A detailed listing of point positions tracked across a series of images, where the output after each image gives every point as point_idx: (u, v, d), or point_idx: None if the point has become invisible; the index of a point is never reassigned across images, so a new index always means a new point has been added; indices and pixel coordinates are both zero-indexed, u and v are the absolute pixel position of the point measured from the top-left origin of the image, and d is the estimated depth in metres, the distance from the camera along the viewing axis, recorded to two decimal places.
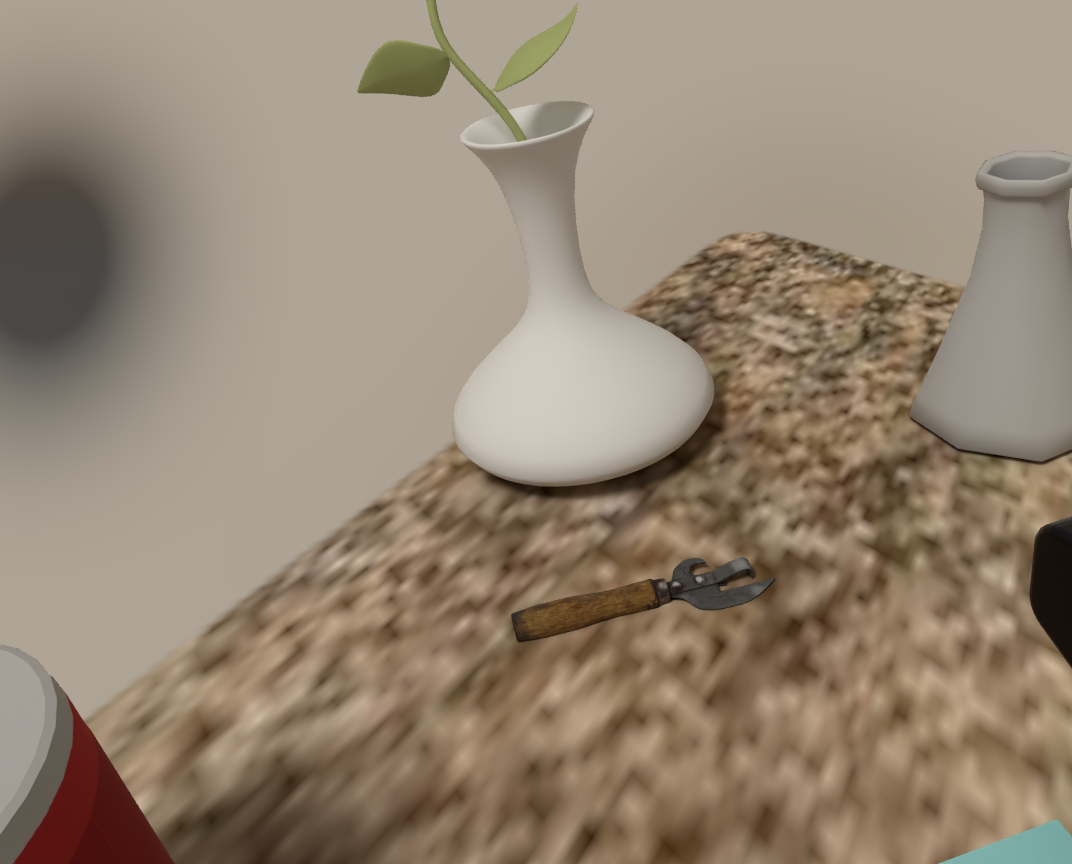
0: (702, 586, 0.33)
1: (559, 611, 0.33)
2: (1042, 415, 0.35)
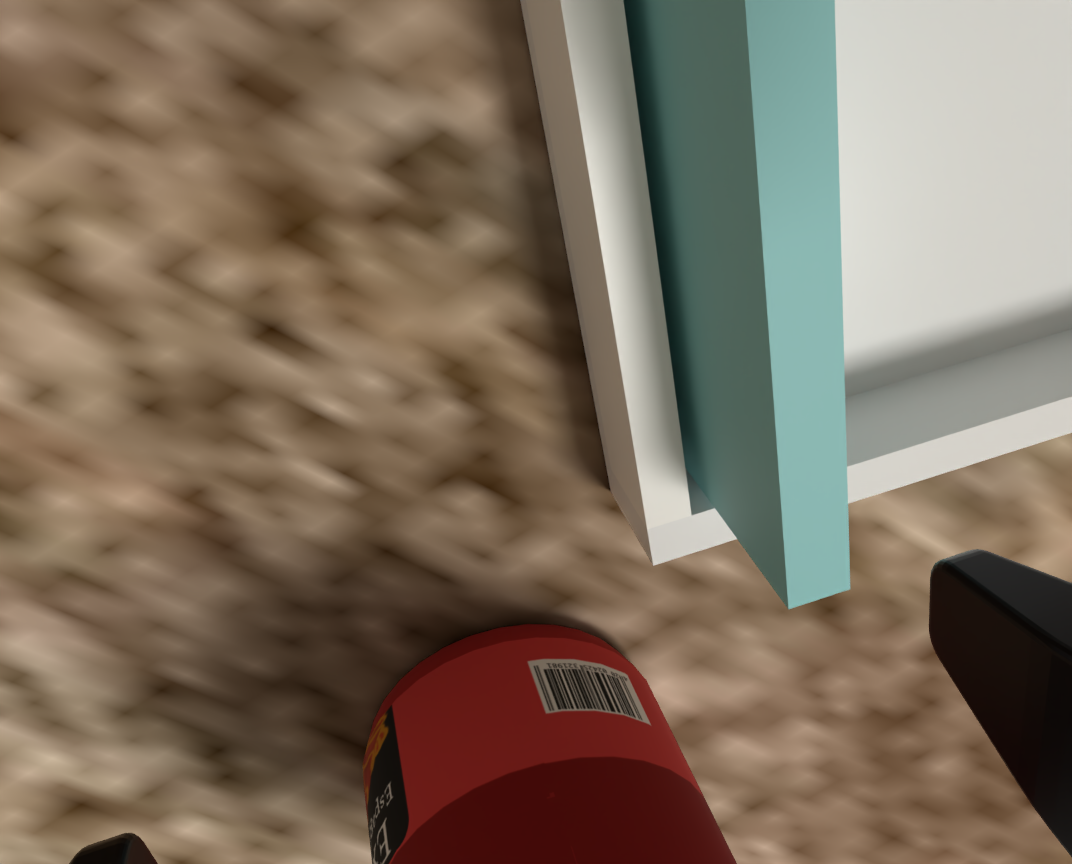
0: None
1: None
2: None
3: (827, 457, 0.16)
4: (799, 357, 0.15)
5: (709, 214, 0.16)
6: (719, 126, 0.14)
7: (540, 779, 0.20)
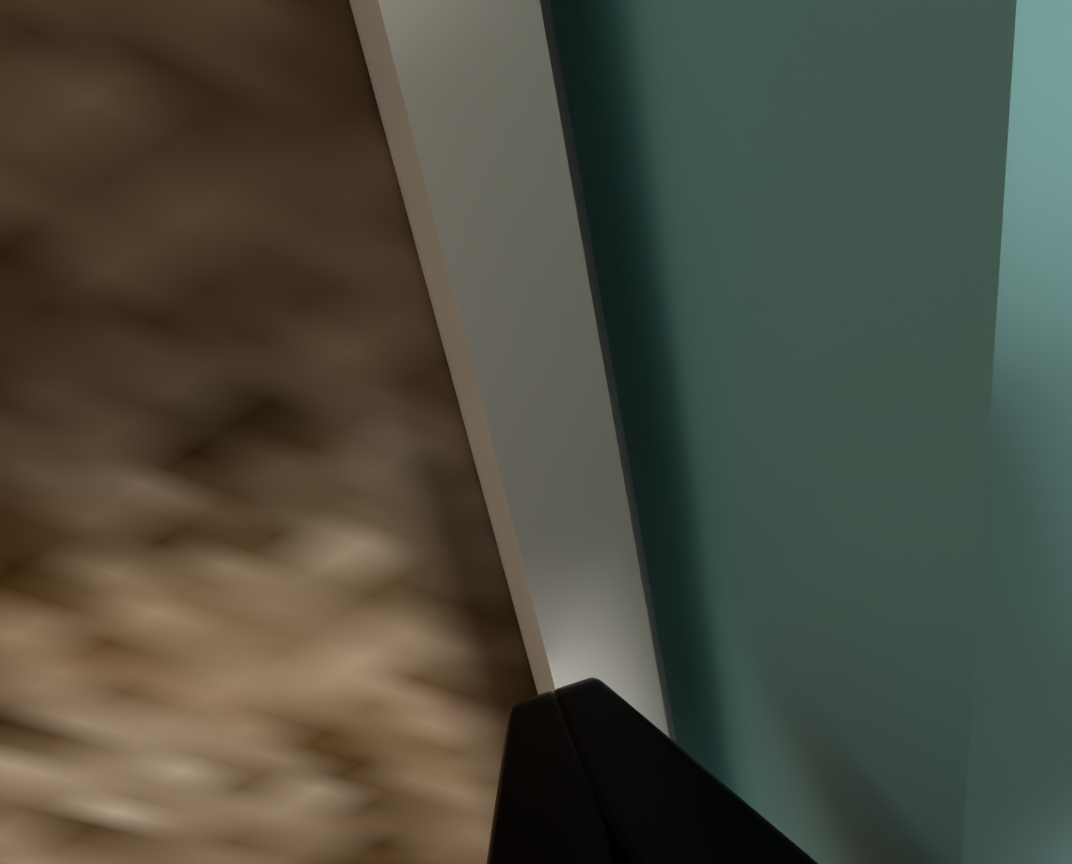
0: None
1: None
2: None
3: None
4: None
5: (797, 676, 0.07)
6: (843, 581, 0.06)
7: None
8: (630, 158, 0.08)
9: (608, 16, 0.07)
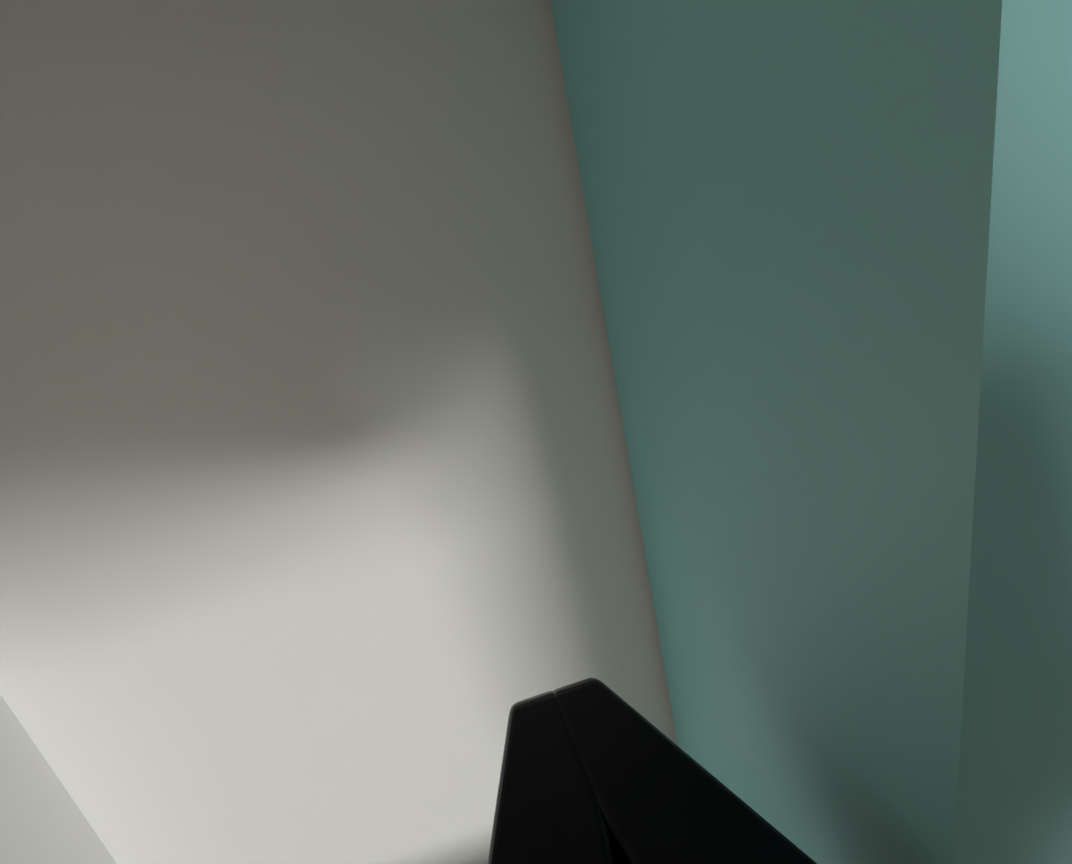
0: None
1: None
2: None
3: None
4: None
5: (795, 675, 0.07)
6: (838, 579, 0.06)
7: None
8: (629, 158, 0.08)
9: (606, 16, 0.07)
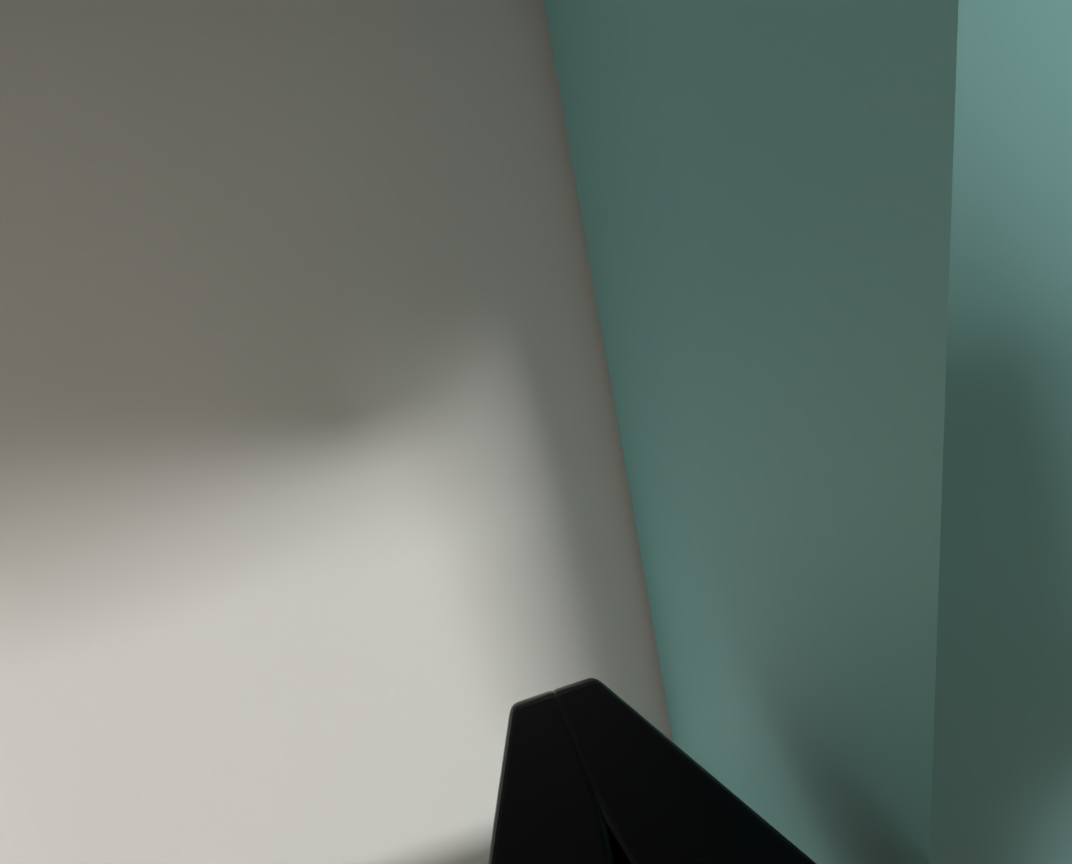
0: None
1: None
2: None
3: None
4: None
5: (779, 668, 0.07)
6: (818, 573, 0.06)
7: None
8: (619, 158, 0.08)
9: (597, 19, 0.07)
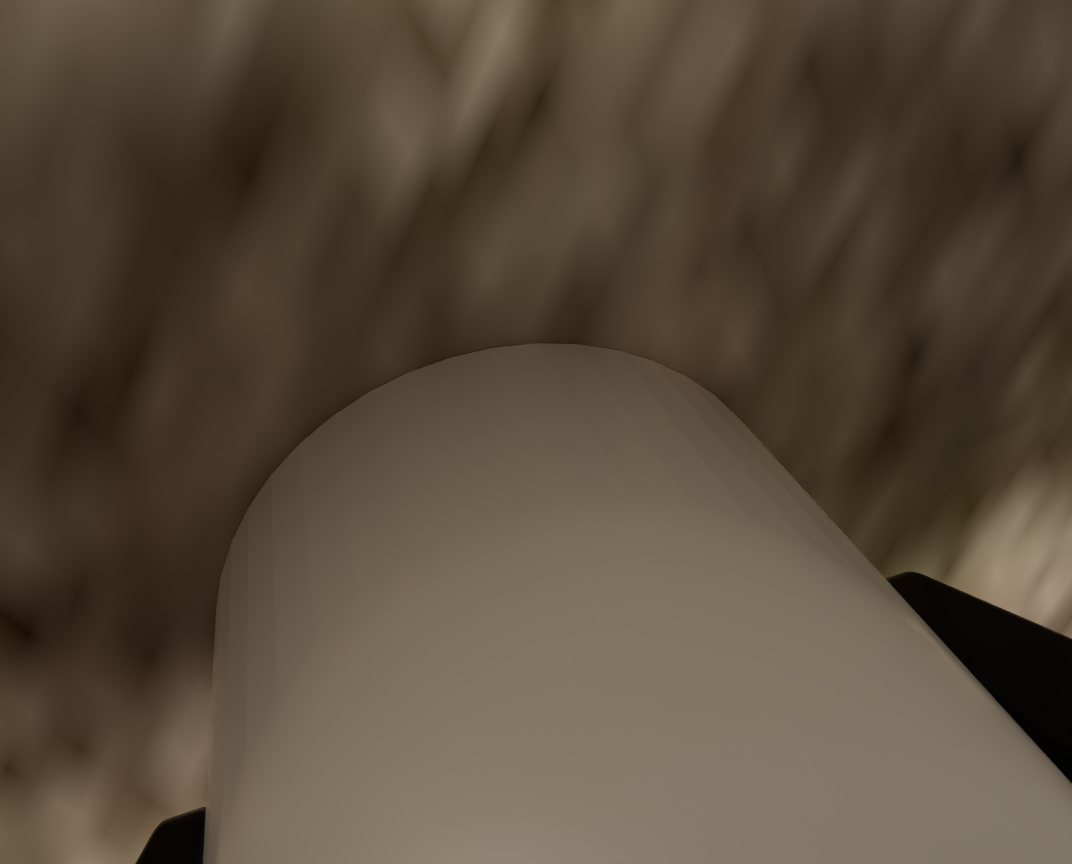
0: None
1: None
2: None
3: None
4: None
5: None
6: None
7: None
8: None
9: None
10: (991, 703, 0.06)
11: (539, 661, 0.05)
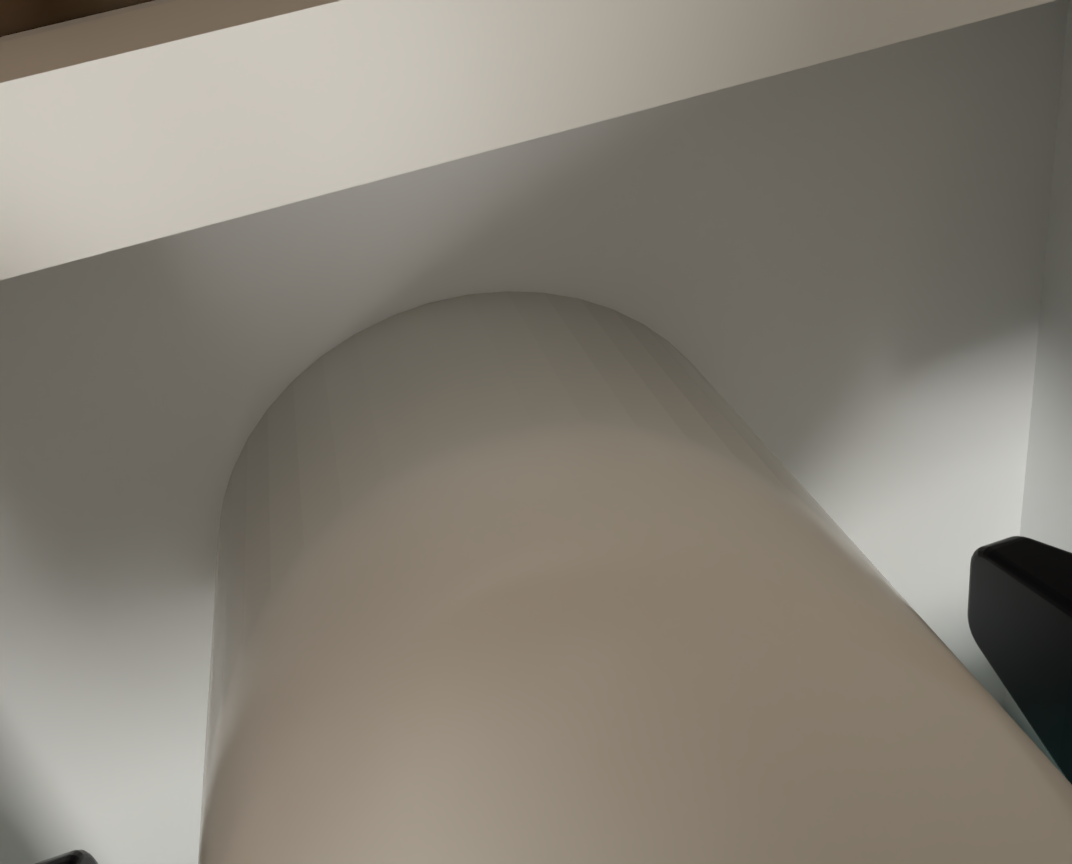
0: None
1: None
2: None
3: None
4: None
5: None
6: None
7: None
8: None
9: None
10: (880, 580, 0.06)
11: (489, 531, 0.06)
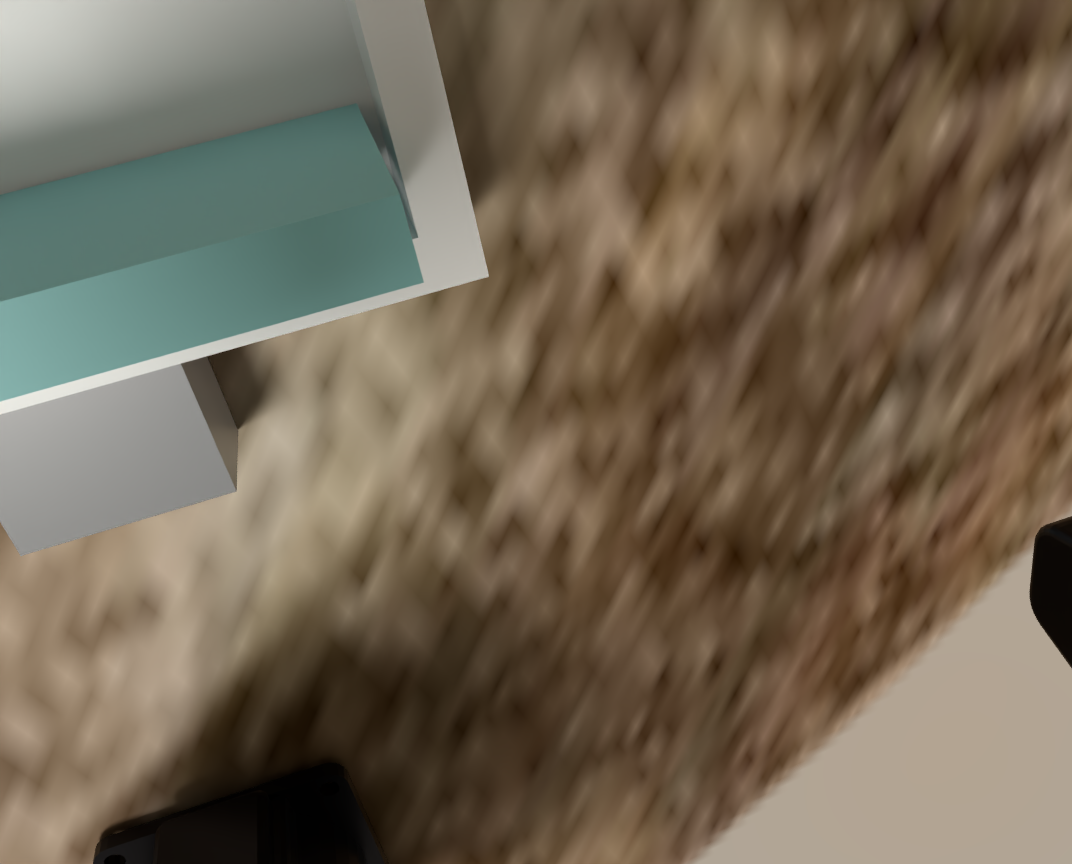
0: None
1: None
2: None
3: None
4: None
5: None
6: (88, 250, 0.13)
7: None
8: (232, 157, 0.15)
9: (296, 140, 0.16)
10: None
11: None
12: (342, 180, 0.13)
